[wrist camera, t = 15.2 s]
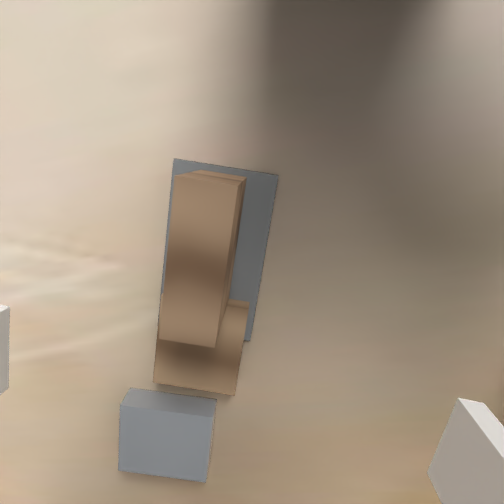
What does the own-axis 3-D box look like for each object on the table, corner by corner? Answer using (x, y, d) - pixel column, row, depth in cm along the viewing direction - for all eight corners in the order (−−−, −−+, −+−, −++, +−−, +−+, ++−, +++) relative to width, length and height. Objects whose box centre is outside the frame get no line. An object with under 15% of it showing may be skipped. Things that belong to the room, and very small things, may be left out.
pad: (174, 158, 28) (173, 158, 28) (278, 175, 28) (278, 175, 27) (159, 323, 32) (157, 325, 31) (250, 338, 32) (250, 340, 31)
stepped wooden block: (178, 166, 28) (143, 170, 20) (269, 180, 28) (269, 190, 20) (158, 372, 32) (122, 440, 25) (236, 384, 32) (225, 457, 25)
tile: (217, 397, 34) (131, 385, 34) (212, 417, 31) (119, 405, 31) (210, 458, 36) (129, 447, 36) (205, 482, 33) (118, 470, 33)
